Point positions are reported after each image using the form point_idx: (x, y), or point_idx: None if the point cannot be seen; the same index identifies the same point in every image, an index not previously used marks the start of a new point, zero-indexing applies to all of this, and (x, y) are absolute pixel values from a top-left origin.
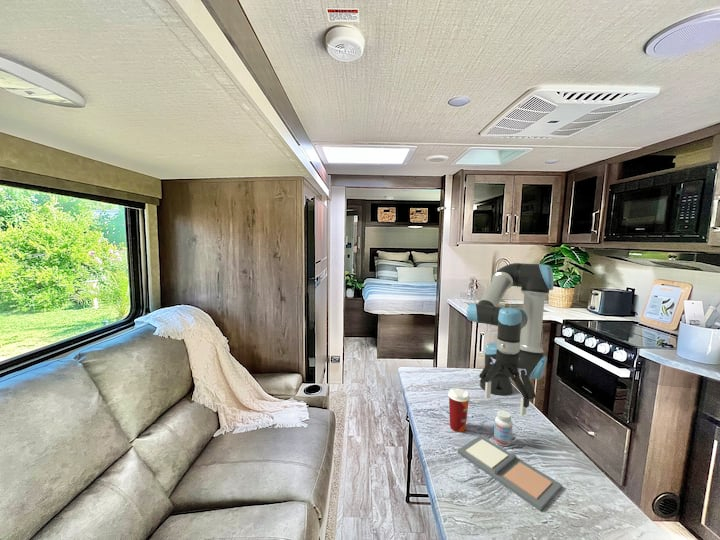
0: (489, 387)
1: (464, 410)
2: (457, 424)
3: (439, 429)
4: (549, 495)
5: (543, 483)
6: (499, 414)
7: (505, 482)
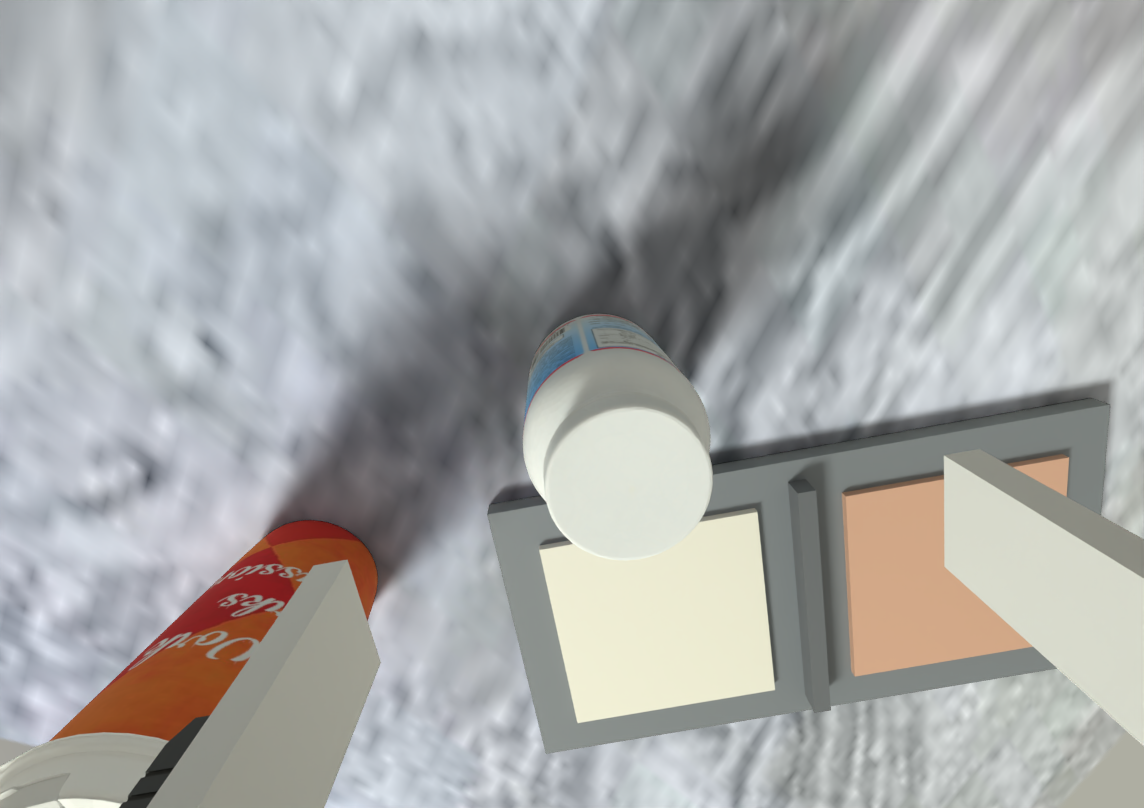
0: (279, 758)
1: None
2: None
3: None
4: None
5: None
6: (613, 552)
7: (883, 692)
